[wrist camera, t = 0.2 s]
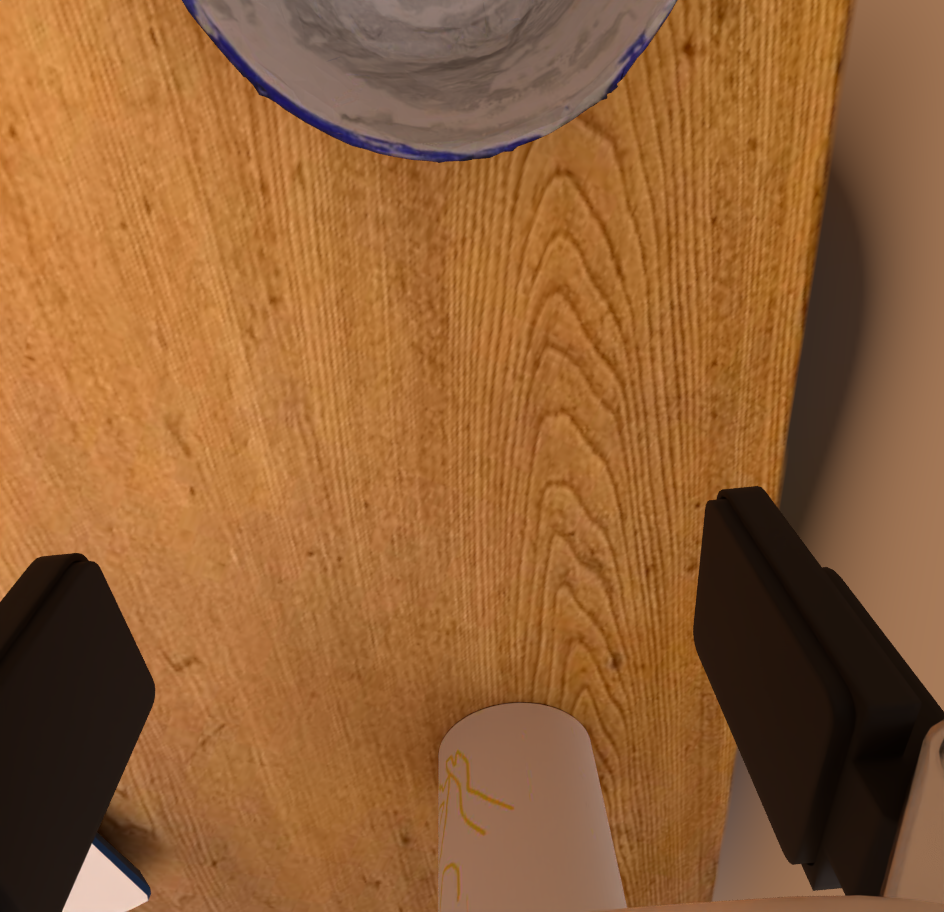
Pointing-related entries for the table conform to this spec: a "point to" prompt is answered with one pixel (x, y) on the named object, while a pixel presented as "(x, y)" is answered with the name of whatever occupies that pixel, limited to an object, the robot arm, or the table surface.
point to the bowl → (433, 65)
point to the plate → (107, 882)
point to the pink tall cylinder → (523, 816)
